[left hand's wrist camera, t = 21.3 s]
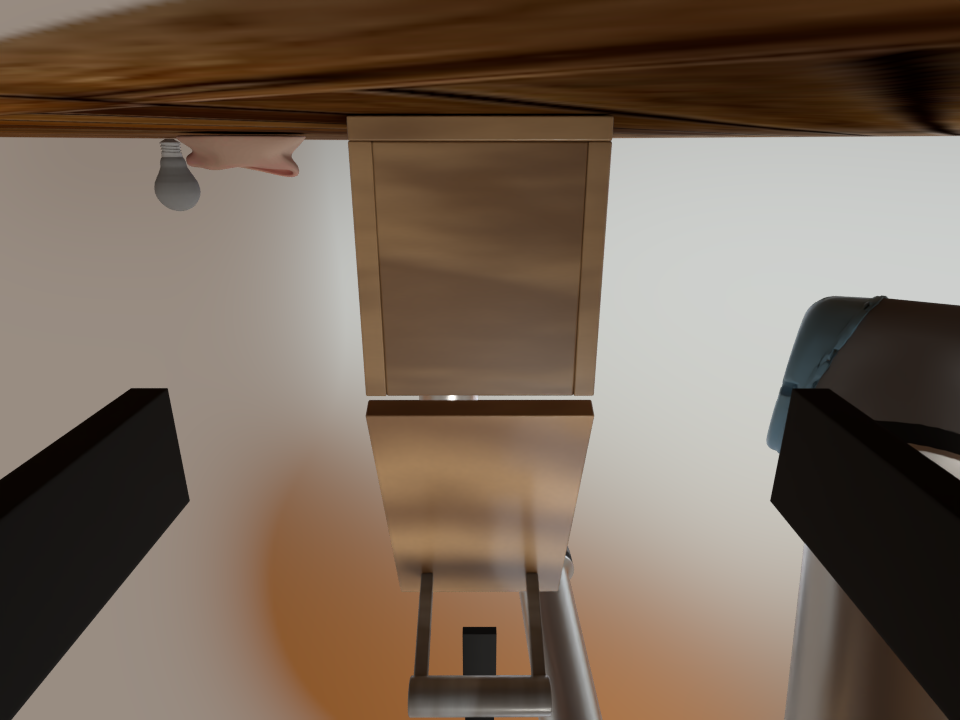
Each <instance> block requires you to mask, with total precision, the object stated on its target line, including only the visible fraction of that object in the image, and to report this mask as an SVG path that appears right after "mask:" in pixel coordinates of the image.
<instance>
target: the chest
mask: <svg viewBox="0 0 960 720" xmlns="http://www.w3.org/2000/svg"><path fill="white" fill-rule="evenodd" d="M613 120H614V117H613V116H396V115H348V116H347V132H348V140H349V142H348V148H349V162H350V176H351V190H352V204H353V217H354V232H355V246H356V260H357V274H358V288H359V302H360V315H361V330H362V344H363V358H364V372H365V386H366V395H367V396H386V395H389V396H396V395H397V396H400V395H401V396H411V395H412V396H418V395H419V396H424V395H573V394H574V395H575V396H592V395H593V394H594V383H595V369H596V356H597V342H598V328H599V314H600V300H601V286H602V272H603V259H604V245H605V231H606V217H607V203H608V189H609V176H610V162H611V148H612V142H611V140H612V134H613Z"/></svg>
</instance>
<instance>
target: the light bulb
mask: <svg viewBox="0 0 960 720" xmlns="http://www.w3.org/2000/svg"><path fill="white" fill-rule="evenodd" d="M160 144H161V147H162V153H161V154H162V158H161V161H160V165H161V168H160V171H159V174H158V176H157V179H156V181H155V194H156V196H157V198H158V199H159V201H160V202H161V203H162V204H163V205H165V206H166V207H168V208H169V209H172V210H176V211H185V210H188V209H190V208H192V207H194V206H195V204H196V203H197V202H198V200H199V197H200V187H199V184H198V182H197V180H196V179H195V178H194V176H193V175H192V174H191V172H190V171H189V169H188V168H187V165H186V162H185V160H184V158H183V156H182V153H180V151H181V150H180V148H181V147H179V145H180V142H178V141H176V140H174V139H164V140H163V141H161V142H160Z"/></svg>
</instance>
